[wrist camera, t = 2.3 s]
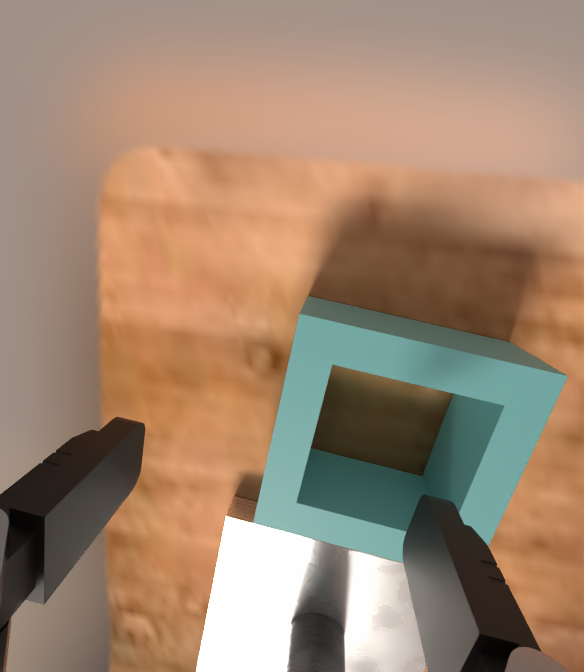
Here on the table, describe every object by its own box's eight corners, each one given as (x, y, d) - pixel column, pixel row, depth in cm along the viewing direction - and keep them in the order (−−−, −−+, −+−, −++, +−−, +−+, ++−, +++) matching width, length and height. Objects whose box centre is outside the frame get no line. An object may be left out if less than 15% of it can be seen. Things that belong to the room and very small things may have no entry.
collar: (509, 341, 15) (567, 376, 12) (442, 508, 18) (471, 581, 14) (308, 295, 16) (299, 313, 12) (270, 463, 18) (253, 522, 15)
